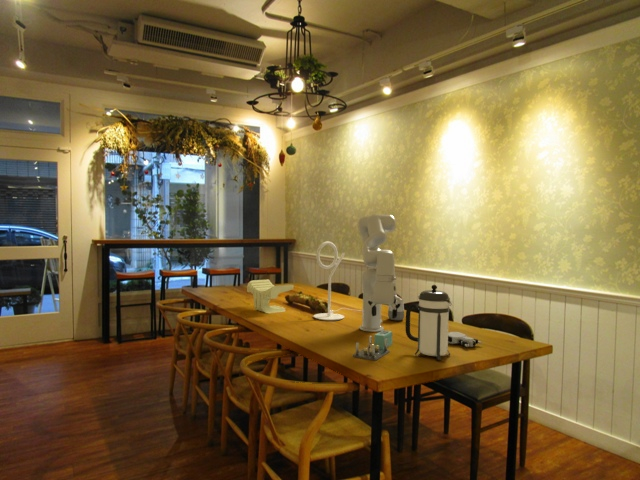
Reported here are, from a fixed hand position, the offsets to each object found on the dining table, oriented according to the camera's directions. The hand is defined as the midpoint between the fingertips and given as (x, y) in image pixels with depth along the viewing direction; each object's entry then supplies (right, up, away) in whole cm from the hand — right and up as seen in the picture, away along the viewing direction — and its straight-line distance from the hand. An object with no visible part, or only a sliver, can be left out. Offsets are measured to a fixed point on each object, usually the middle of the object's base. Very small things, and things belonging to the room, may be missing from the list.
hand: (384, 316), depth 198 cm
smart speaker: (+15, -12, +58) cm, 61 cm away
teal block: (0, -14, +1) cm, 14 cm away
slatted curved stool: (-61, -10, +79) cm, 100 cm away
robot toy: (+37, -14, +6) cm, 40 cm away
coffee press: (+17, -14, -13) cm, 26 cm away
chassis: (-7, -14, -12) cm, 20 cm away
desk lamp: (-17, -11, +66) cm, 69 cm away
